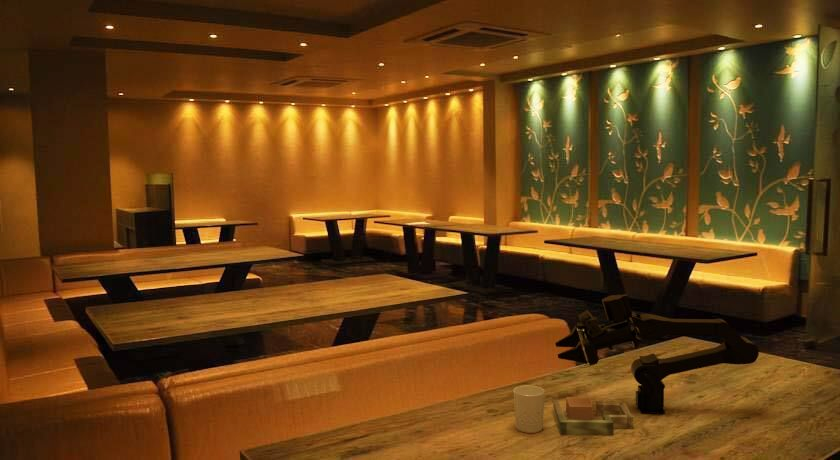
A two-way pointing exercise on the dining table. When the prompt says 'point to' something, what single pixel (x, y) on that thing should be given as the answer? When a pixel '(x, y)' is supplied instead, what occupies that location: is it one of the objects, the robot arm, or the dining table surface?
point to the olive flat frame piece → (612, 418)
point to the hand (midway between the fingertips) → (556, 350)
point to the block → (579, 408)
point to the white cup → (529, 408)
